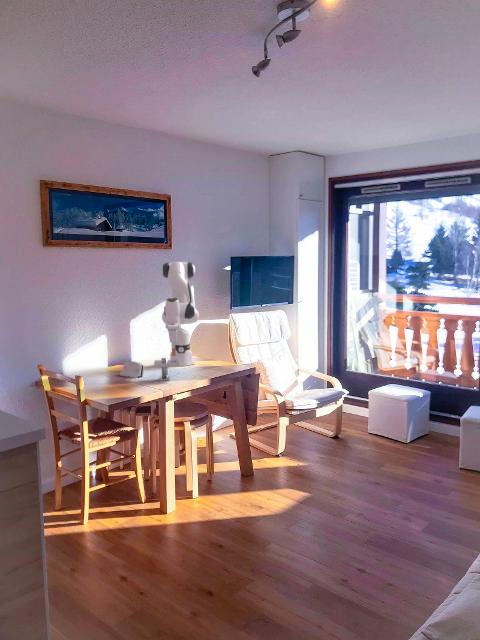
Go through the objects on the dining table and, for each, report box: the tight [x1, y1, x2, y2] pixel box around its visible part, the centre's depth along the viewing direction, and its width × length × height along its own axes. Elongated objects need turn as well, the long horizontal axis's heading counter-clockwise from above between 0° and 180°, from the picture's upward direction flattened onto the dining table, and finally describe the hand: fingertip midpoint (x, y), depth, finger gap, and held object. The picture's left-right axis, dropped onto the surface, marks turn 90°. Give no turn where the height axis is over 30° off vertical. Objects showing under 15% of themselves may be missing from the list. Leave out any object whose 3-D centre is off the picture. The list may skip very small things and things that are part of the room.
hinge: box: [119, 360, 145, 379], centre depth 346 cm, size 17×5×10 cm, turn 53°
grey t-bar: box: [153, 357, 181, 382], centre depth 334 cm, size 10×15×13 cm, turn 96°
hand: (173, 348), depth 332 cm, fingers closed on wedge, 2 cm apart
